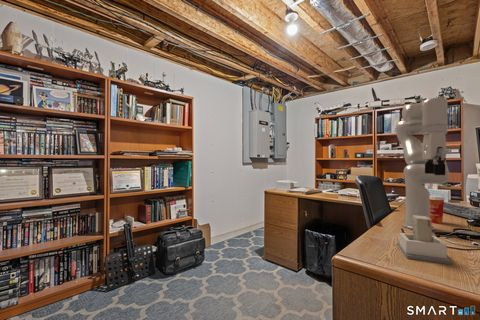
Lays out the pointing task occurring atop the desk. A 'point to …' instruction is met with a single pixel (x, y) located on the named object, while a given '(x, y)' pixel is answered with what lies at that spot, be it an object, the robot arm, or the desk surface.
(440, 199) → the paper cup
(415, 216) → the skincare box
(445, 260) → the shallow white tray
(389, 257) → the desk surface
